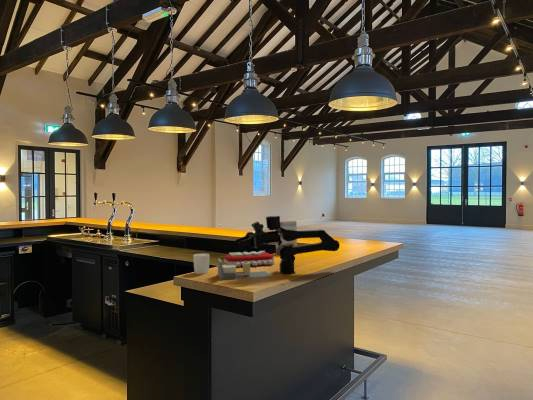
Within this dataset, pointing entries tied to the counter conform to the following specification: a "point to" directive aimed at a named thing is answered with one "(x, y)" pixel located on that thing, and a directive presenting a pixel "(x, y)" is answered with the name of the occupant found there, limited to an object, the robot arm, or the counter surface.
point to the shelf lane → (239, 276)
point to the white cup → (201, 263)
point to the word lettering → (249, 259)
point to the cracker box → (291, 226)
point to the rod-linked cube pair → (233, 269)
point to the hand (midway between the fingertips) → (237, 241)
